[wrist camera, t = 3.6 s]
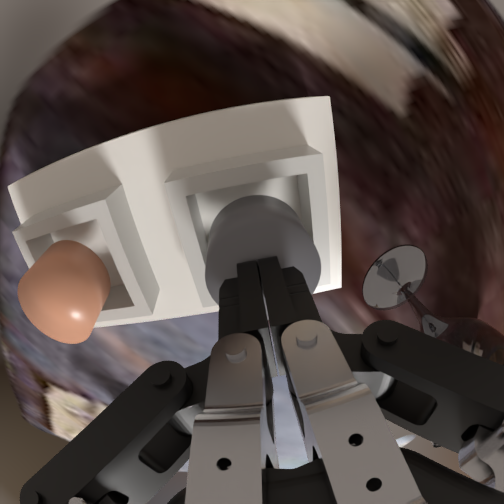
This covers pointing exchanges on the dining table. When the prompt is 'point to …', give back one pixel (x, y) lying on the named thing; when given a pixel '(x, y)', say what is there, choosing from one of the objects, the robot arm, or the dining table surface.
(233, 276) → the charcoal button
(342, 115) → the dining table surface
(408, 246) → the wine glass
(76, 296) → the terracotta button
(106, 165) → the console
